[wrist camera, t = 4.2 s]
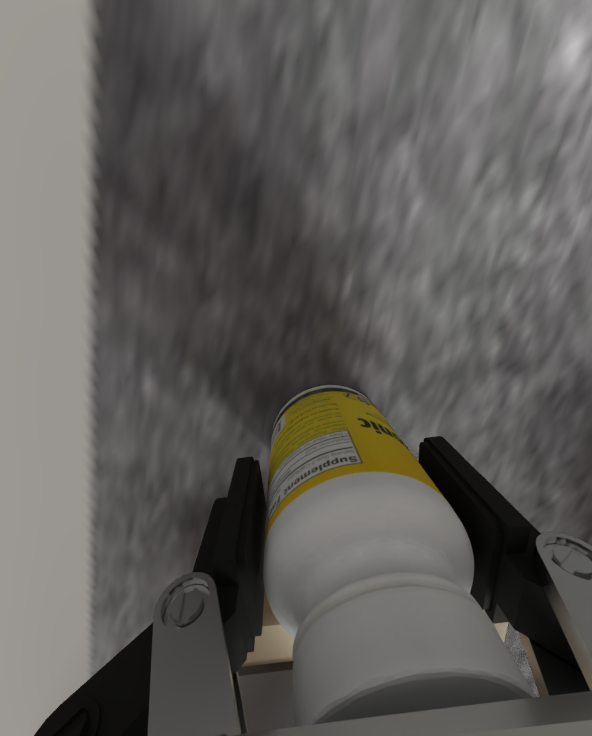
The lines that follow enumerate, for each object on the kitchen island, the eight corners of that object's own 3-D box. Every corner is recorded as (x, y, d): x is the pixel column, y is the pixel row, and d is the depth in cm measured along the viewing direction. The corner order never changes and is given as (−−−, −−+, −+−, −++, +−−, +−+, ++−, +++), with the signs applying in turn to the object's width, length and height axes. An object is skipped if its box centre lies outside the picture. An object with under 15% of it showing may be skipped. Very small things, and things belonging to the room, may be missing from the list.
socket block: (457, 520, 16) (518, 605, 12) (437, 713, 22) (474, 815, 17) (209, 548, 16) (183, 644, 12) (256, 735, 21) (250, 843, 17)
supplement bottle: (398, 448, 14) (619, 773, 5) (305, 494, 15) (342, 861, 5) (352, 359, 13) (545, 584, 3) (250, 414, 13) (172, 735, 4)
